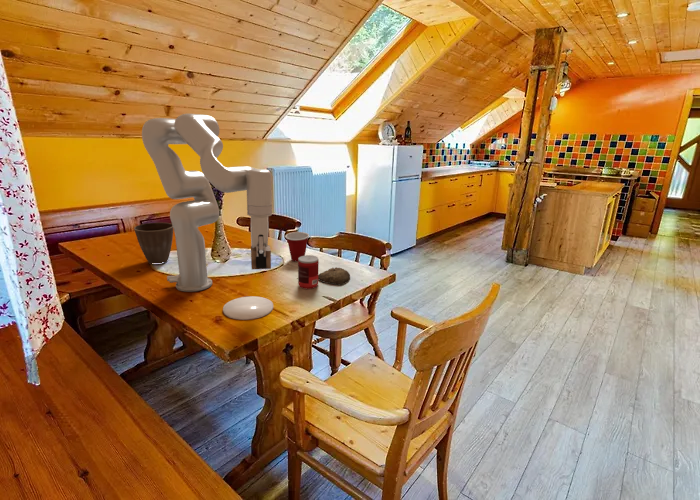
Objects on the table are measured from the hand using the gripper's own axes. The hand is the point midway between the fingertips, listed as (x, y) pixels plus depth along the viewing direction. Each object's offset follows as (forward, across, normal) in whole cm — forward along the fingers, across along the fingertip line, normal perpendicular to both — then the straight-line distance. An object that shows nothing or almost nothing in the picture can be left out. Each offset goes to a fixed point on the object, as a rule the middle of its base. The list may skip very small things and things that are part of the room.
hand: (260, 263), depth 124 cm
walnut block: (+1, 0, 0) cm, 1 cm away
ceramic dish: (+15, +1, -4) cm, 16 cm away
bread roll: (+15, -20, +30) cm, 39 cm away
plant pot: (+17, -53, -42) cm, 69 cm away
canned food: (+15, -15, +18) cm, 28 cm away
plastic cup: (+16, -46, +18) cm, 52 cm away
